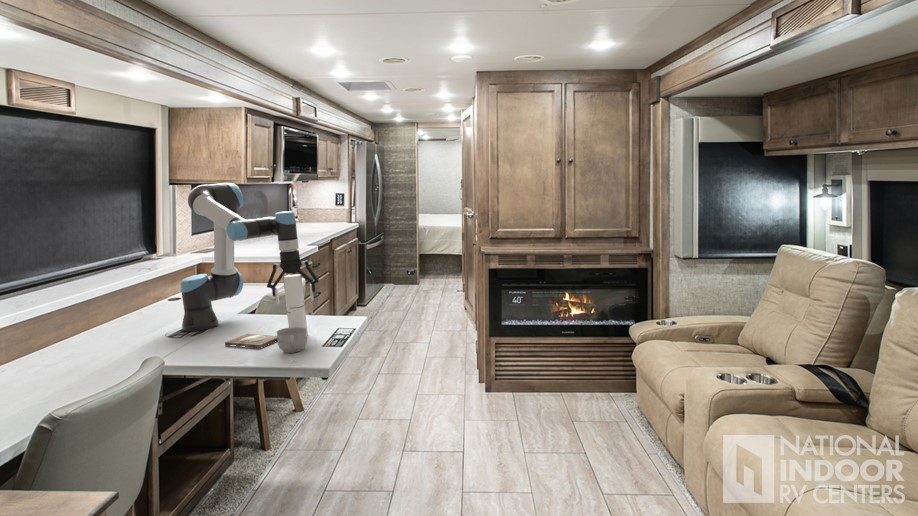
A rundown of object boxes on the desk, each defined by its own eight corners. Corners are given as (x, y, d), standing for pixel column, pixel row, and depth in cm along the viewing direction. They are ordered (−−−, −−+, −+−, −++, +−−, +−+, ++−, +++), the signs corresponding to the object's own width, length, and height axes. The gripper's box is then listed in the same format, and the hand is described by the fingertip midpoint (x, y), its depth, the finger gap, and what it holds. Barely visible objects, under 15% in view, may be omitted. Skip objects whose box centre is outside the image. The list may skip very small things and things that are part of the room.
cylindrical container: (303, 338, 243) (296, 277, 239) (286, 338, 245) (279, 278, 241) (310, 333, 250) (304, 274, 246) (294, 333, 252) (288, 274, 248)
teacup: (282, 347, 233) (279, 327, 231) (310, 344, 233) (308, 324, 232) (274, 358, 219) (271, 337, 218) (304, 356, 220) (302, 334, 219)
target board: (225, 345, 240) (224, 341, 240) (247, 337, 251) (247, 333, 251) (259, 348, 233) (259, 344, 233) (281, 339, 243) (280, 335, 243)
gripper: (255, 254, 236) (262, 307, 239) (320, 248, 240) (326, 300, 243) (258, 252, 244) (264, 303, 247) (321, 246, 248) (327, 296, 251)
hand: (295, 302), depth 245 cm, fingers open, 13 cm apart
